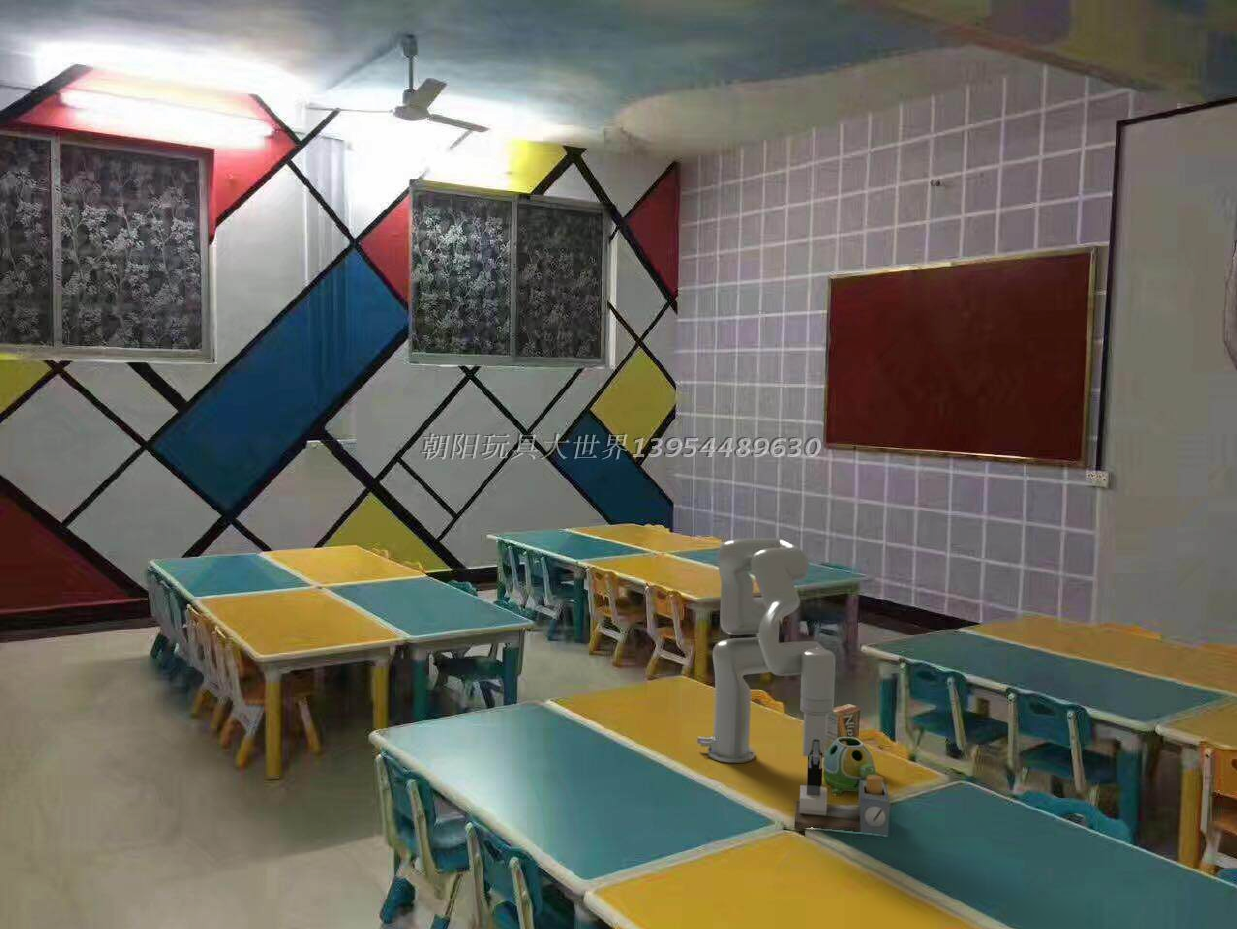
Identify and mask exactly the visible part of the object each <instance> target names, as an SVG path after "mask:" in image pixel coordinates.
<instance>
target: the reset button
mask: <svg viewBox="0 0 1237 929" xmlns="http://www.w3.org/2000/svg"><path fill="white" fill-rule="evenodd" d="M883 782H884V777H882V776H880V775H878V774H877V775H868V776H867V781H866V794H876V795H882V790H883Z"/></svg>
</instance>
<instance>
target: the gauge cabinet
mask: <svg viewBox="0 0 1237 929" xmlns="http://www.w3.org/2000/svg"><path fill="white" fill-rule="evenodd" d="M866 781H867V780H860V781H859V792H858V805H857V807H858V808H859V817H860V827H861V832H863V833H872V834H879V835H888V836H889V827H890V806H891V805H890V797H889V792H888V791H889V790H888V786H887V781H883V790H882V795H876V794H866Z"/></svg>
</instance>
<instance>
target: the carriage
mask: <svg viewBox="0 0 1237 929" xmlns="http://www.w3.org/2000/svg"><path fill="white" fill-rule="evenodd" d="M811 765H812V764H811ZM808 767H809V760H808V759H807V768H808ZM807 778H808V771H807V776H806V779H807ZM799 788H800V789H799V801H800V808H799V813H806V814H816V815H826V811H827V804H828V796H827V795H828V793H827V792H828V790H827V787H825V786H811V785H808V784H807V783H806V785H804V784H803V785H802V784H800V786H799Z"/></svg>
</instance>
